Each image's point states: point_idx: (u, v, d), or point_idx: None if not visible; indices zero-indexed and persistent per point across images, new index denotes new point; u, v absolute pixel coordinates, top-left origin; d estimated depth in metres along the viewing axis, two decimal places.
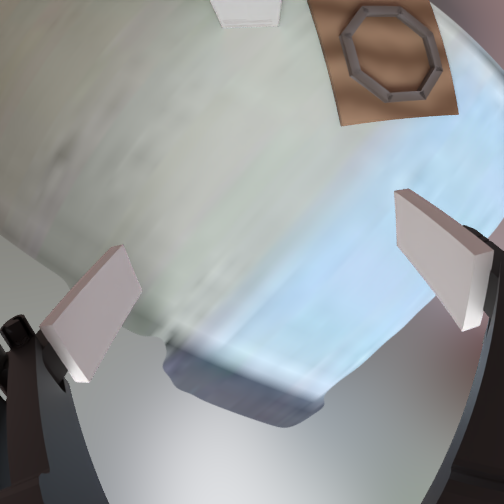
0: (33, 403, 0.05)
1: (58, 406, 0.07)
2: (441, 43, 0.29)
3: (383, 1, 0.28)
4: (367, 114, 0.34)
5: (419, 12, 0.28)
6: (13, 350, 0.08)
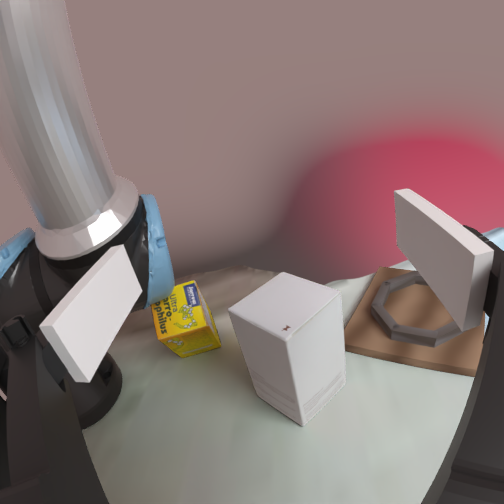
0: (33, 403, 0.05)
1: (58, 406, 0.07)
2: None
3: (371, 294, 0.42)
4: (475, 346, 0.28)
5: (390, 276, 0.44)
6: (13, 350, 0.08)
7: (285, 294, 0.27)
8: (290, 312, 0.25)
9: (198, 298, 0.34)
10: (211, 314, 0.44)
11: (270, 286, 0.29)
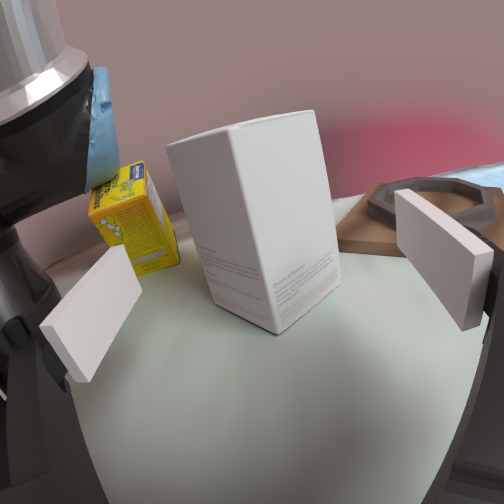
0: (33, 403, 0.05)
1: (58, 406, 0.07)
2: None
3: None
4: None
5: None
6: (13, 350, 0.08)
7: None
8: (242, 122, 0.17)
9: (143, 173, 0.28)
10: (173, 230, 0.36)
11: None
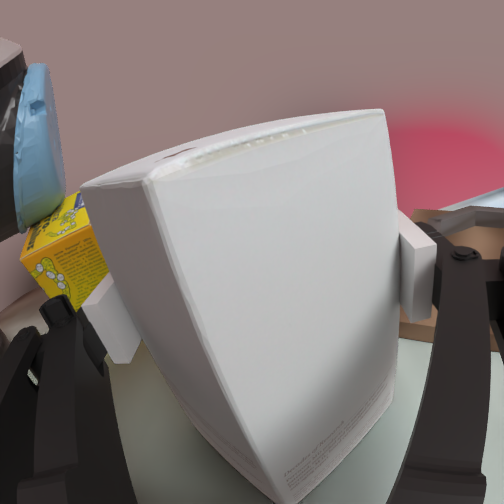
0: (68, 390, 0.06)
1: (94, 392, 0.07)
2: None
3: None
4: None
5: None
6: (52, 330, 0.09)
7: None
8: (217, 136, 0.07)
9: None
10: None
11: None
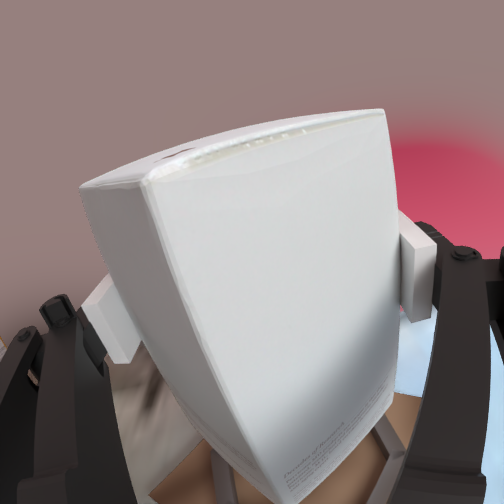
0: (67, 389, 0.06)
1: (94, 392, 0.07)
2: None
3: None
4: None
5: None
6: (52, 330, 0.09)
7: None
8: (217, 137, 0.06)
9: None
10: None
11: None
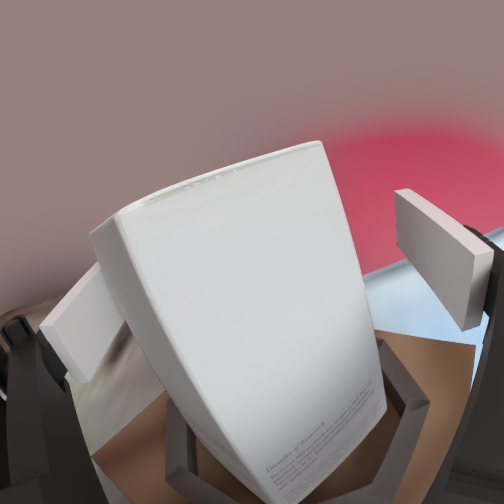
0: (33, 403, 0.05)
1: (58, 406, 0.07)
2: None
3: None
4: None
5: None
6: (13, 350, 0.08)
7: None
8: None
9: None
10: None
11: None
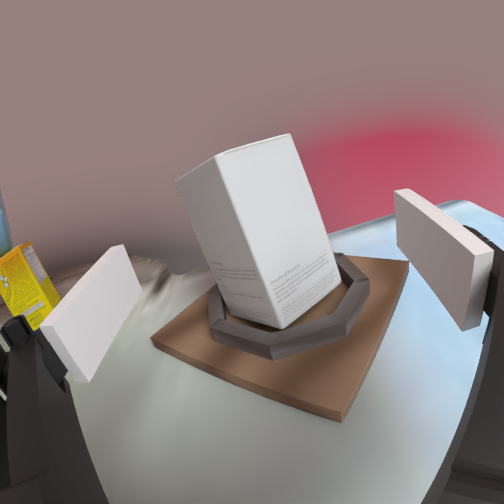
0: (33, 403, 0.05)
1: (58, 406, 0.07)
2: None
3: None
4: (348, 366, 0.19)
5: None
6: (13, 350, 0.08)
7: None
8: None
9: (24, 243, 0.32)
10: None
11: None
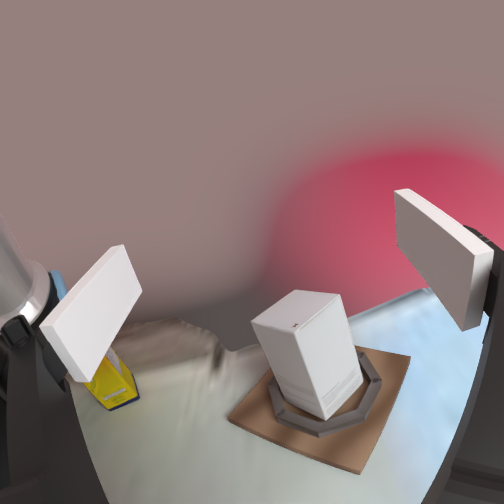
0: (33, 403, 0.05)
1: (58, 406, 0.07)
2: None
3: None
4: (365, 442, 0.27)
5: None
6: (13, 350, 0.08)
7: (295, 303, 0.33)
8: (298, 315, 0.30)
9: None
10: (131, 374, 0.46)
11: (284, 300, 0.35)
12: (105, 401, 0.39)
